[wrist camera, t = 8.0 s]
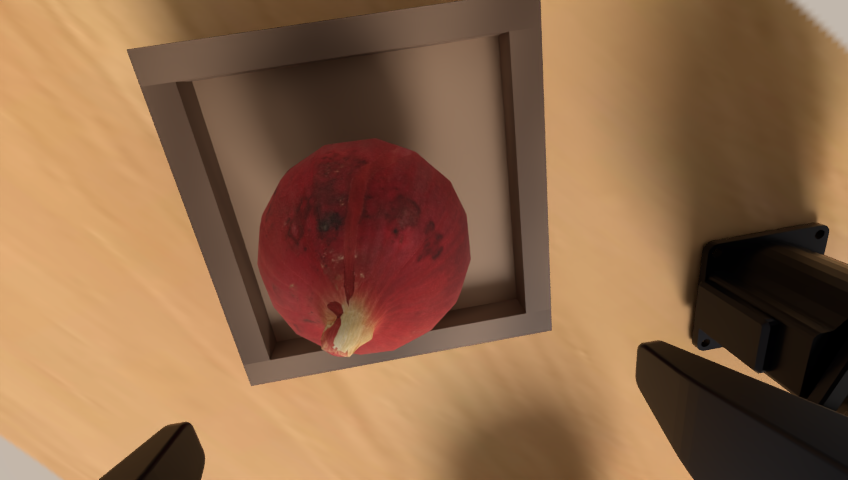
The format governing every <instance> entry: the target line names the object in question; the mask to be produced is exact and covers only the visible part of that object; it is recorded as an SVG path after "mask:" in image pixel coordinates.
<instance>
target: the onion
mask: <svg viewBox="0 0 848 480" xmlns="http://www.w3.org/2000/svg"><path fill="white" fill-rule="evenodd" d="M470 261H471V255H470V243H469V233H468V223H467V214H466V212H465V210H464V208H463V206H462V204H461V202H460V200H459V198H458V196H457V194H456V192H455V190H454V187H453V185H452V183H451V181H450V180H448V179H447V178H446V177H445V176H444V175H442V174H441V173H440V172H439V171H438V170H437V169H435V168H434V167H433V166H432V165H431V164H429V163H428V162H427V161H426V160H425V159H424V158H422V157H421V156H420V155H419V154H418V153H417V152H415V151H412V150H409V149H406V148H403V147H401V146H398V145H395V144H392V143H389V142H386V141H383V140H380V139H377V138H372V139H365V140H357V141H350V142H342V143H334V144H328V145H324V146H322V147H321V148H319V149H318V150H317V151H315V152H314V153H312V154H311V155H309V156H308V157H306V158H305V159H303V160H302V161H300V162H299V163H298V164H296V165H295V166H293V167H292V168H290V169H289V170H288V171H287V172H286V173H285V175H284V176H283V177H282V179H281V180H280V182H279V183H278V185H277V187H276V189H275V191H274V193H273V195H272V197H271V199H270V201H269V203H268V205H267V207H266V208H265V210H264V212H263V214H262V218H261V223H260V229H259V245H258V262H257V264H258V268H259V272H260V275H261V277H262V280H263V282H264V285H265V287H266V290H267V292H268V295H269V297H270V300H271V302H272V305H273V307H274V308H275V309H276V310H277V311H278V313H279V314H280V315H281V316H282V317H283V319H284V320H285V321H286V322H287V323H288V325H289V326H290V327H291V328H292V329H293V330H294V332H295V333H296V334H298V335H300V336H302V337H304V338H306V339H308V340H310V341H312V342H314V343H316V344H318V345H320V346H321V349H322V350H324V351H326V352H328V353H329V354H331V355H333V356H339V357H350V356H351V355H352V354H359V355H362V354H370V353H378V352H386V351H393V350H395V349H397V348H399V347H401V346H403V345H405V344H407V343H409V342H411V341H412V340H414V339H416V338H418V337H420V336H422V335H424V334H425V333H427V332H429V331H430V330H432V329H433V327H434V326H435V325H436V324H437V323H438V322H439V321H440V320H441V319H442V318H443V317H444V315H445V314H446V313H447V312H448V311H449V310H450V309H451V308H452V307H453V306H454V304H455V303H456V302H457V300H458V297H459V295H460V293H461V289H462V286H463V283H464V280H465V277H466V273H467V270H468V267H469V264H470Z"/></svg>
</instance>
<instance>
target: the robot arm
mask: <svg viewBox="0 0 848 480" xmlns="http://www.w3.org/2000/svg"><path fill="white" fill-rule="evenodd" d="M828 235H829V228H828V227H827V226H825V225H823V224H819V223H810V224H805V225H799V226H793V227H788V228H782V229H777V230H771V231H765V232H760V233H754V234H749V235H743V236H737V237H732V238H726V239H721V240H715V241H711V242H709V243H707V244H706V245H705V246H704V248H703V251H702V258H701V267H700V275H699V284H698V293H697V302H696V310H695V319H694V328H693V337H692V343H693V345H694V346H695V347H697V348H698V349H699V350H701V351H704V350H710V349H715V348H720V347H724V348H725V349H727V350H728V351H729V352H730V353H732V354H733V355H734V356H736V357H737V358H738V359H739V360H741V361H742V362H743V363H745V364H746V365H747V366H749V367H750V368H751V369H752V370H754V371H755V372H757V373H763V372H764V373H765V374H766V375H768V376H769V377H770V378H772V379H773V380H774V381H776V382H777V383H778V384H780V385H781V386H782V387H784V388H785V389H786V390H788V391H789V392H790V393H789V392H786V391H784V390H781V389H779V388H776V387H774V386H772V385H769V384H767V383H764V382H762V381H759V380H757V379H754V378H752V377H749V376H747V375H744V374H742V373H739V372H737V371H735V370H732V369H730V368H727V367H725V366H722V365H720V364H717V363H715V362H712V361H710V360H707V359H705V358H703V357H700V356H698V355H695V354H693V353H690V352H688V351H685V350H683V349H680V348H678V347H675V346H673V345H671V344H668V343H666V342H663V341H651V342H645V343H642V344H640V345H639V346H638V349H637V361H636V382H637V385H638V387H639V389H640V391H641V393H642V395H643V396H644V398H645V400H646V402H647V403H648V405H649V407H650V409H651V410H652V412H653V414H654V416H655V418H656V419H657V421H658V423H659V425H660V426H661V428H662V430H663V432H664V433H665V435H666V437H667V439H668V440H669V442H670V444H671V446H672V447H673V449H674V451H675V452H676V454H677V456H678V457H679V459H680V460H681V462H682V463H683V465H684V466H685V468H686V469H687V471H688V472H689V474H690V475H691V476H692V478H693V479H694V480H848V264H846V263H844V262H841V261H838V260H836V259H833V258H831V257H828V256H826V255H824V252H825V248H826V244H827V239H828ZM715 249H716V251H715V252H714V253H713V251H714V250H715ZM702 341H703V342H702ZM204 465H205V454H204V451H203V448H202V446H201V444H200V441H199V439H198V437H197V434H196V432H195V430H194V428H193V426H192V425H191V424H190V423H189V422H182V423H176V424H170V425H167V426H165V427H163V428H162V429H161V430H160V431H158V432H157V433H156V434H155V435H153V436H152V437H151V438H150V439H148V440H147V441H146V442H145V443H143V444H142V445H141V446H140V447H138V448H137V449H136V450H135V451H134V452H132V453H131V454H130V455H129V456H127V457H126V458H125V459H124V460H122V461H121V462H120V463H119V464H117V465H116V466H115V467H114V468H112V469H111V470H110V471H109V472H107V473H106V474H105V475H104V476H103V477H101V478H100V479H99V480H201V478H202V474H203V469H204Z"/></svg>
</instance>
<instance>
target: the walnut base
mask: <svg viewBox="0 0 848 480" xmlns="http://www.w3.org/2000/svg"><path fill="white" fill-rule="evenodd" d="M127 52H128V55H129V57H130V60H131V63H132V66H133V68H134V71H135V74H136V76H137V79H138V82H139V84H140V87H141V90H142V93H143V95H144V98H145V101H146V103H147V106H148V109H149V111H150V114H151V117H152V120H153V122H154V125H155V128H156V130H157V133H158V136H159V138H160V141H161V144H162V147H163V149H164V152H165V155H166V157H167V160H168V163H169V165H170V168H171V171H172V174H173V176H174V179H175V182H176V184H177V187H178V190H179V192H180V195H181V198H182V201H183V203H184V206H185V209H186V211H187V214H188V217H189V219H190V222H191V225H192V228H193V230H194V233H195V236H196V238H197V241H198V244H199V246H200V249H201V252H202V254H203V257H204V260H205V263H206V265H207V268H208V271H209V273H210V276H211V279H212V281H213V284H214V287H215V290H216V292H217V295H218V298H219V300H220V303H221V306H222V308H223V311H224V314H225V317H226V319H227V322H228V325H229V327H230V330H231V333H232V335H233V338H234V341H235V344H236V346H237V349H238V352H239V354H240V357H241V360H242V362H243V365H244V368H245V371H246V373H247V376H248V379H249V381H250V384H251V386H254V385H259V384H265V383H270V382H275V381H281V380H286V379H292V378H297V377H302V376H308V375H313V374H319V373H324V372H329V371H335V370H340V369H346V368H351V367H356V366H362V365H367V364H373V363H378V362H383V361H389V360H394V359H400V358H405V357H410V356H416V355H421V354H427V353H432V352H437V351H443V350H448V349H454V348H459V347H464V346H470V345H475V344H481V343H486V342H491V341H497V340H502V339H508V338H513V337H518V336H524V335H529V334H535V333H540V332H545V331H551V330H552V323H551V294H550V265H549V235H548V206H547V177H546V148H545V119H544V89H543V60H542V31H541V2H540V0H462V1H456V2H449V3H442V4H435V5H428V6H421V7H415V8H408V9H401V10H394V11H387V12H380V13H373V14H367V15H360V16H353V17H346V18H339V19H332V20H326V21H319V22H312V23H305V24H298V25H291V26H285V27H278V28H271V29H264V30H257V31H250V32H243V33H237V34H230V35H223V36H216V37H209V38H202V39H196V40H189V41H182V42H175V43H168V44H161V45H155V46H148V47H141V48H134V49H127ZM372 138H377V139H380V140H383V141H386V142H389V143H392V144H395V145H398V146H401V147H403V148H406V149H409V150H412V151H415V152H417V153H418V154H419V155H420V156H421V157H422V158H424V159H425V160H426V161H427V162H428V163H429V164H431V165H432V166H433V167H434V168H435V169H437V170H438V171H439V172H440V173H441V174H442V175H444V176H445V177H446V178H447V179H448V180H450V181H451V183H452V185H453V187H454V190H455V192H456V194H457V196H458V198H459V200H460V202H461V204H462V206H463V208H464V210H465V212H466V214H467V223H468V233H469V243H470V255H471V261H470V264H469V267H468V270H467V273H466V277H465V280H464V283H463V286H462V289H461V293H460V295H459V297H458V300H457V302H456V303H455V304H454V306H453V307H452V308H451V309H450V310H449V311H448V312H447V313H446V314H445V315H444V317H443V318H442V319H441V320H440V321H439V322H438V323H437V324H436V325H435V326H434V327H433V329H432V330H430V331H429V332H427V333H425V334H424V335H422V336H420V337H418V338H416V339H414V340H412V341H411V342H409V343H407V344H405V345H403V346H401V347H399V348H397V349H395V350H393V351H386V352H378V353H370V354H362V355H359V354H352V355H351V356H350V357H339V356H333V355H331V354H329V353H328V352H326V351H324V350H322V349H321V346H320V345H318V344H316V343H314V342H312V341H310V340H308V339H306V338H304V337H302V336H300V335H298V334H296V333H295V332H294V330H293V329H292V328H291V327H290V326H289V325H288V323H287V322H286V321H285V320H284V319H283V317H282V316H281V315H280V314H279V313H278V311H277V310H276V309H275V308H274V307H273V305H272V302H271V300H270V297H269V295H268V292H267V290H266V287H265V285H264V282H263V280H262V277H261V275H260V272H259V268H258V264H257V262H258V245H259V229H260V223H261V218H262V214H263V212H264V210H265V208H266V207H267V205H268V203H269V201H270V199H271V197H272V195H273V193H274V191H275V189H276V187H277V185H278V183H279V182H280V180H281V179H282V177H283V176H284V175H285V173H286V172H287V171H288V170H289V169H290V168H292V167H293V166H295V165H296V164H298V163H299V162H300V161H302V160H303V159H305V158H306V157H308V156H309V155H311V154H312V153H314V152H315V151H317V150H318V149H319V148H321V147H322V146H324V145H328V144H334V143H342V142H350V141H357V140H365V139H372Z"/></svg>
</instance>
